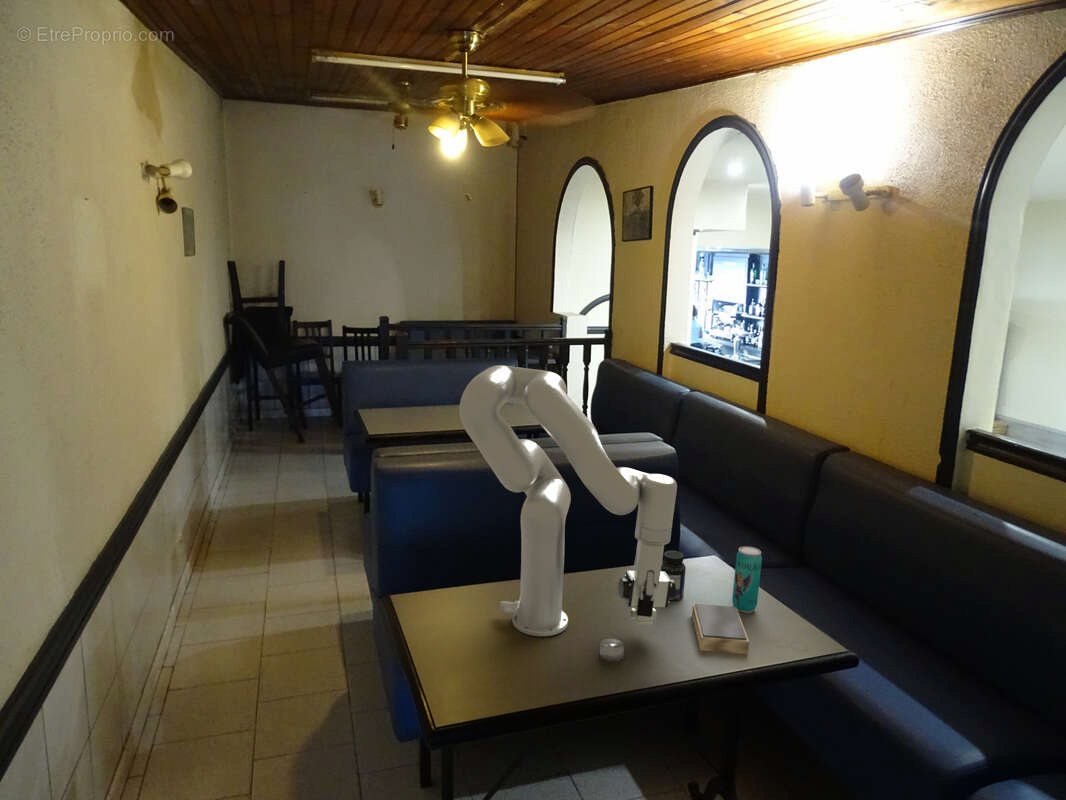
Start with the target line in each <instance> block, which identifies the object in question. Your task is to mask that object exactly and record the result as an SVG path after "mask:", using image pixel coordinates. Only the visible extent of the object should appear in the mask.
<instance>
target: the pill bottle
mask: <svg viewBox="0 0 1066 800" xmlns="http://www.w3.org/2000/svg"><path fill="white" fill-rule="evenodd" d="M663 559H664V560H662V566H661V571H663V572H666V574H667V575H668V577H669V579H673V580H674V582H675V586H676V594H675V598H674V599H673V600H670V601H671V602H677V601H680V600H682V599H683V597H684V593H685V582H686V581H685V580H686V565H685V563H684V562H683V561H684V554H683V552H680V551H678V550H667V551H665V552H663Z"/></svg>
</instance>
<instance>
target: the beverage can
mask: <svg viewBox="0 0 1066 800" xmlns="http://www.w3.org/2000/svg"><path fill="white" fill-rule="evenodd" d="M762 560H763V557H762V551H761V550H760V549H759V548H757V547H753V546H747V545H745V546H740V547H739V548H738V552H737V553H736V560H735V569H734V579H733V588H732V589H733V590H732V598H731V601H732V606H733V607H737V610H738V613H741V612H742V613H741V614H752V613H753V612H754V611H755V609H756V608H757V606H758V599H759V589H760V580H761V571H762Z"/></svg>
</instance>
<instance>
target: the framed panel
mask: <svg viewBox="0 0 1066 800" xmlns="http://www.w3.org/2000/svg"><path fill="white" fill-rule="evenodd" d="M691 617H692V618H693V619H692V622H694V623H693V626H695V627H694V631H695V634H696V638H697V643H698V646H699V651H704V652H713V651H714V652H713V653H717V652H718V653H726V652H727V653H726V654H740V655H749V646H750V640H749V637H748V635H747V634H748V633H747V632H746V629H745V626H744V623H743V622H742V619H741V616H740V612H739V611H738V610H737V607H734V606H732V605H731V606H729V605H728V606H727V605H715V604H701V603H695V604H694V603H693V604H692V610H691Z"/></svg>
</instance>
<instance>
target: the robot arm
mask: <svg viewBox="0 0 1066 800" xmlns="http://www.w3.org/2000/svg"><path fill="white" fill-rule="evenodd" d="M506 403H508V404H515V405H523V406H524V407H525V408H526V410H527V411H528V412H529V414H530V415H531V416H532V417H533V418H534V420H536V422H537V423H538V424H539V425H540V426H541V427H542V429H544V431H545V432H546V433H547V434H548V436H550V437H551V439H552V440H553V441H554V442H555V443H556V445H558V447H559V448H560V449H561V450H562V452H563V453H564V454H565V456H566V458H567V460H568V461H569V464H570V465H571V466H572V468H573V470H574V471H575V472H576V474H577V476H578V477H579V478H580V480H581V482H582V483H583V484H584V487H586V489H588V491H589V492H590V493H591V494H592V495H593V496H594V498H595V499H596V500H597V501H598V502H599V504H600V505H602V506H603V508H605V509H606V510H607V511H609V512H610V513H612V514H614V515H617V516H624V515H628V514H630V513H631V512H633V511H634V510H635V509H636V507H637V506H638V507H637V508H638V509H637V516H636V523H635V532H634V537H635V539H636V540H637V545H636V553H635V558H634V559H635V560H634V565H633V571H634V572H635V580H636V582H635V584H636V586H641V594H640V598H639V600H638V607H637V615H638V616H646V617H651V616H652V610H653V608H654V607H653V603H654V599H653V598H654V588H655V589H656V588H657V587H658V585H659V580H660V573H661V566H662V562H663V559H664V549H665V545H667V544H669V543H670V542H671V537H672V528H673V519H674V513H675V505H676V498H677V491H678V490H677V489H678V484H677V482H676V480H675V479H674V478H673V477H671V476H669V475H665V474H660V473H647V472H643V471H640V470H636V469H634V468H630V467H626V466H625V467H623V466H621V467H620V466H619V467H616V466H615V464H614V463H613V462H612V460H611V459H610V458H609V456H608V454H607V453H606V451H605V449H604V447H603V445H602V442H601V440H600V436H599V433H598V430H597V429H596V427H595V426H594V424H593V423H592V421H591V420H589V418H588V417H587V416H586V414H585V413H584V412H583V411H582V410H581V409H580V408H579V406H578V405H577V404H576V403H575V402H574V401H573V400H572V399H571V397H570V396H569V395H568V394H567V385H566V383H565V381H564V379H563V378H562V377H561V376H560V375H559V374H557V373H555V372H552V371H549V370H543V369H534V368H524V367H518V366H512V365H510V366H509V365H501V364H500V365H493V366H490V367H487V369H485V370H483V371H481V372H480V373H479V374H477V375H476V376H474V378H472V380H470V382H469V383H468V384H467V386H466V387H465V389H464V391H463V393H462V395H461V399H460V402H459V418H460V420H461V424H462V426H463V428H464V430H465V431H466V433H467V435H468V436H469V437H470V439H471V440H472V442H473V443H474V444H475V446H476V448H477V449H478V450H479V452H480V453H481V455H482V456H483V458H484V459H485V461H486V463H487V464H488V465H489V467H490V469H491V471H492V472H493V473H494V474H495V476H496V478H497V479H498V480H499V482H500V483H501V485H503V487H504V488H505V489H506V490H509V491H511V492H512V493H521V492H524V493H525V495H526V498H525V500H524V502H523V505H522V508H521V511H520V512H521V513H520V531H521V532H520V533H521V536H520V537H521V549H520V550H521V553H520V556H521V558H520V560H521V563H520V591H519V592H520V593H519V599H518V600H514V602H513V601H505V600H504V601H503V600H501V601H500V605H499V607H500V609H499V610H500V611H501V610H502V611H503V614H504V615H512V618H511V619H512V625H513V627H514V628H515V629H517V630H518V631H519V632H520V633H523V634H525V635H529V636H533V637H534V636H535V637H551V636H554V635H558V634H560V633H562V632H563V631H565V630H566V629H567V628H568V625H569V617H568V615H567V613H565V612H564V611H563V609H562V608H563V588H564V567H565V566H564V565H565V532H566V531H565V530H566V529H565V526H566V520H567V519H566V518H567V515H568V512H569V508H570V505H571V500H572V498H571V497H572V495H571V492H570V488H569V486H568V484H567V483H566V481H565V479H564V478H563V477H562V475H561V474H560V472H559V470H558V469H557V467H555V465H554V464H553V462H552V461H551V459H550V458H549V456H548V455H547V454H546V452H545V451H544V449H543V448H542V447H541V446H540V445H539V444H537V443H536V442H534V441H533V440H531V439H526V438H523V439H519V437H518V436H517V435H516V433H515V431H514V430H513V428H512V426H510V424H509V422H508V421H506V420H505V419H504V418H503V416H502V415H501V413H500V410H501V408H503V406H504V405H505V404H506ZM644 582H647V585H644ZM644 588H646V591H644Z"/></svg>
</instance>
